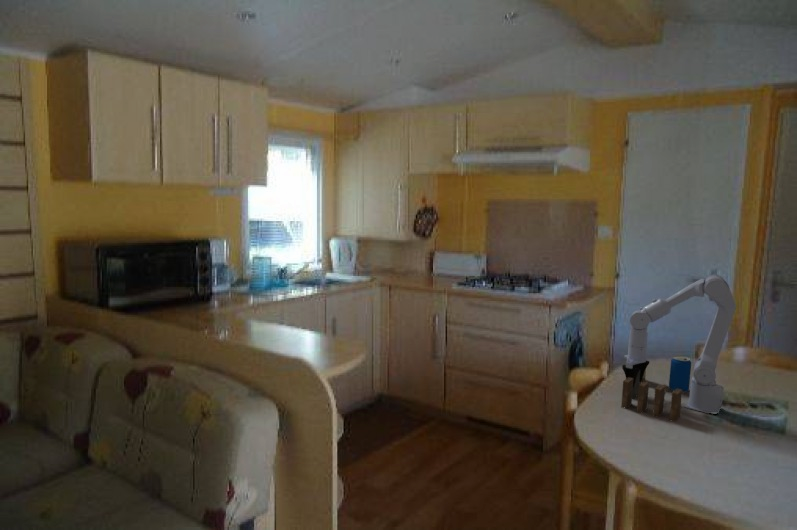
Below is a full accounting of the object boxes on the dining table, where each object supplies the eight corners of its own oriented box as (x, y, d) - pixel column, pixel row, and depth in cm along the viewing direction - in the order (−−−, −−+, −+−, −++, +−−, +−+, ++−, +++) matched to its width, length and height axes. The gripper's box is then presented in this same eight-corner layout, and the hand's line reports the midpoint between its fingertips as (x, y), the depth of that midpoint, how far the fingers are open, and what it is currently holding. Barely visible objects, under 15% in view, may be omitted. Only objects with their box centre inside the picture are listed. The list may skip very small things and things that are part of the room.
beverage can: (691, 394, 198) (694, 361, 196) (671, 392, 199) (674, 360, 197) (685, 387, 204) (688, 356, 202) (666, 386, 205) (669, 354, 203)
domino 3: (647, 408, 185) (649, 381, 184) (641, 412, 181) (644, 386, 180) (642, 406, 186) (644, 380, 185) (636, 411, 182) (638, 384, 181)
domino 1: (631, 404, 188) (633, 378, 187) (626, 408, 185) (628, 382, 183) (626, 402, 189) (628, 377, 188) (621, 407, 186) (623, 381, 184)
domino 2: (638, 395, 196) (640, 370, 195) (633, 399, 193) (635, 373, 191) (633, 393, 197) (635, 369, 196) (628, 397, 194) (630, 372, 192)
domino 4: (663, 412, 182) (665, 385, 181) (658, 417, 178) (660, 389, 177) (657, 410, 183) (660, 384, 182) (653, 415, 179) (655, 388, 178)
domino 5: (679, 416, 179) (682, 389, 177) (675, 421, 175) (677, 393, 174) (674, 415, 180) (676, 388, 178) (669, 420, 176) (672, 392, 175)
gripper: (632, 338, 200) (629, 375, 202) (618, 347, 190) (615, 385, 192) (653, 342, 196) (650, 380, 198) (639, 351, 185) (636, 391, 187)
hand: (634, 383), depth 194 cm, fingers open, 7 cm apart
